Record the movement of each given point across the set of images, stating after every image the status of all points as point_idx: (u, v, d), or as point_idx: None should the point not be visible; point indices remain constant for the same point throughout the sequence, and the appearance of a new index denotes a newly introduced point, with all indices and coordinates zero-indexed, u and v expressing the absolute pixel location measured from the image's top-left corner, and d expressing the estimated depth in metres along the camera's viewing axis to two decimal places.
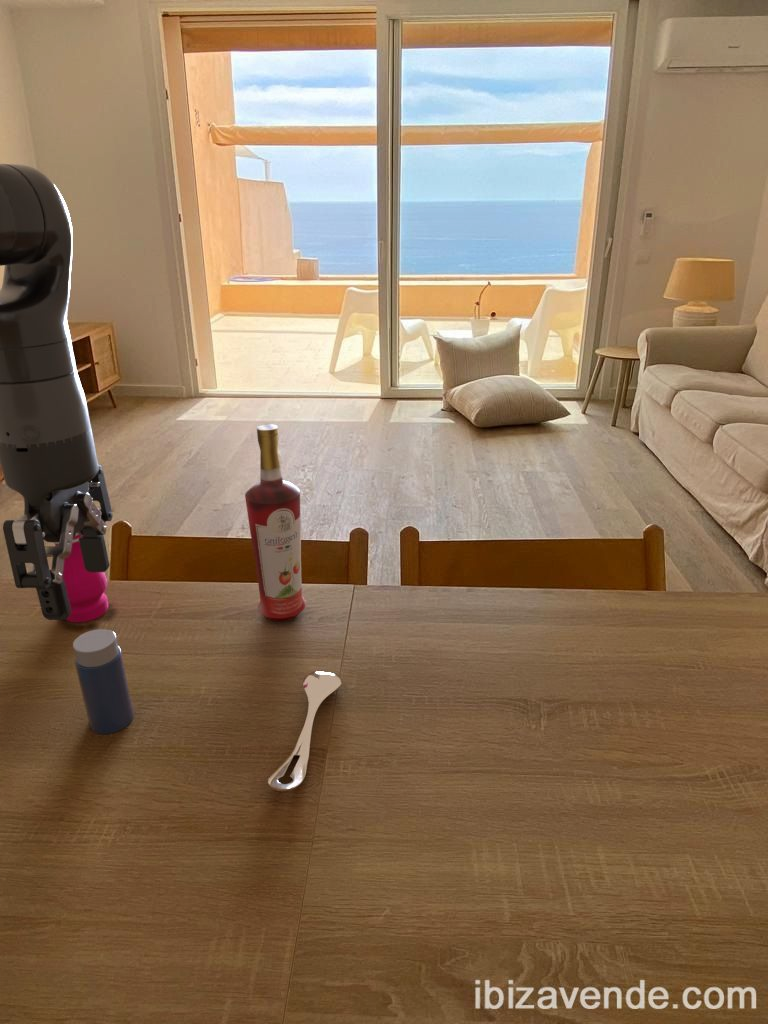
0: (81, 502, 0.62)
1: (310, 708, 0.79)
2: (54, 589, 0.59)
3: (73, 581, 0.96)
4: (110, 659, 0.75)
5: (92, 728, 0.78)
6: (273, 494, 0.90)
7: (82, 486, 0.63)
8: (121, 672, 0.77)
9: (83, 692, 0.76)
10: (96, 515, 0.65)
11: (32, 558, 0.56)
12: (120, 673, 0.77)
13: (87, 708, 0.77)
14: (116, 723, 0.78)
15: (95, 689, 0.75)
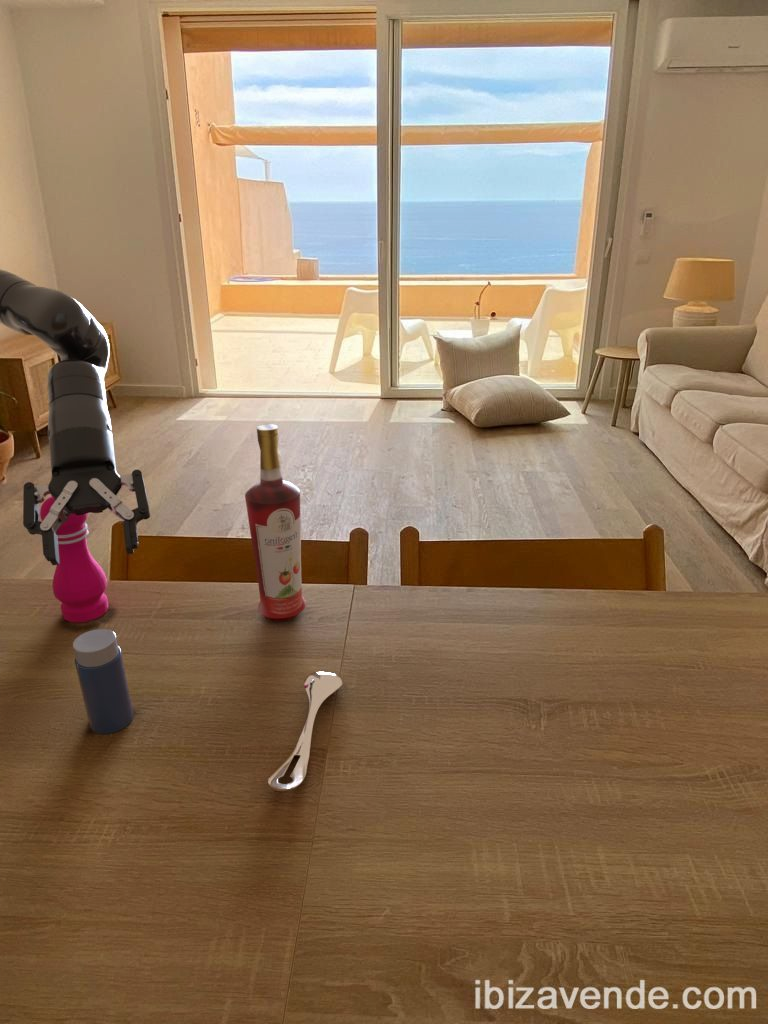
0: (89, 484, 0.85)
1: (310, 708, 0.79)
2: (44, 536, 0.83)
3: (73, 581, 0.96)
4: (110, 659, 0.75)
5: (92, 728, 0.78)
6: (273, 494, 0.90)
7: (105, 478, 0.87)
8: (121, 672, 0.77)
9: (83, 692, 0.76)
10: (109, 498, 0.85)
11: None
12: (120, 673, 0.77)
13: (87, 708, 0.77)
14: (116, 723, 0.78)
15: (95, 689, 0.75)
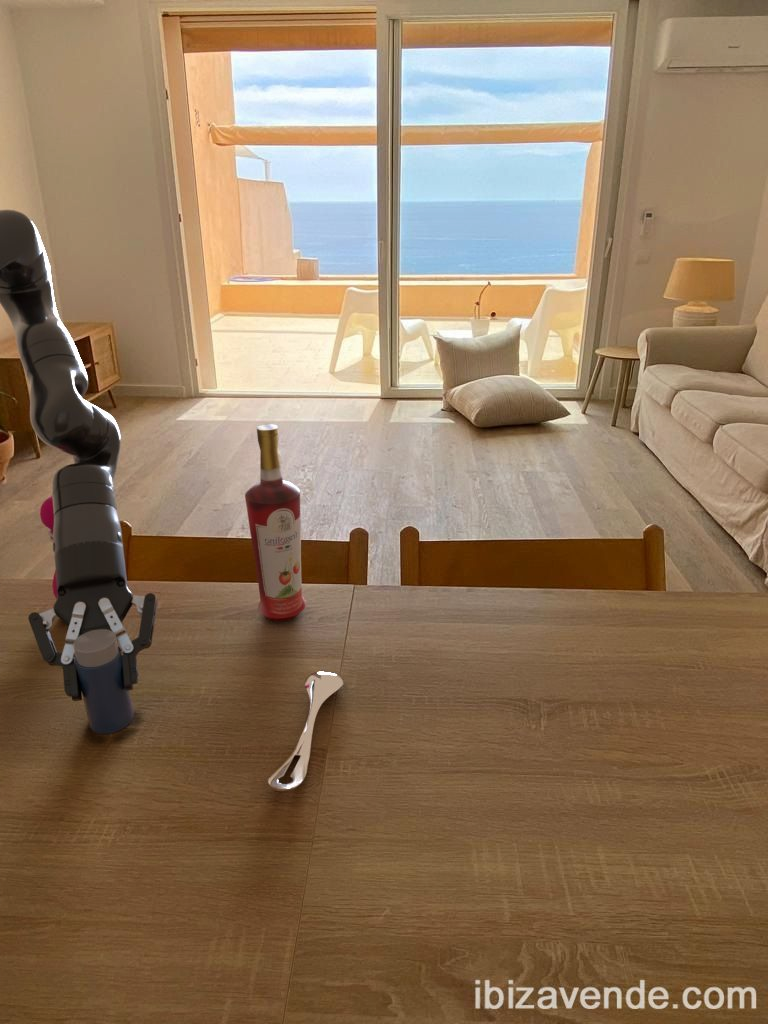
0: (99, 604, 0.78)
1: (311, 708, 0.79)
2: (65, 669, 0.76)
3: None
4: (110, 659, 0.75)
5: (92, 728, 0.78)
6: (273, 494, 0.90)
7: (115, 596, 0.80)
8: (121, 672, 0.77)
9: (83, 692, 0.76)
10: (113, 624, 0.78)
11: None
12: (120, 673, 0.77)
13: (87, 707, 0.77)
14: (116, 723, 0.78)
15: (95, 689, 0.75)
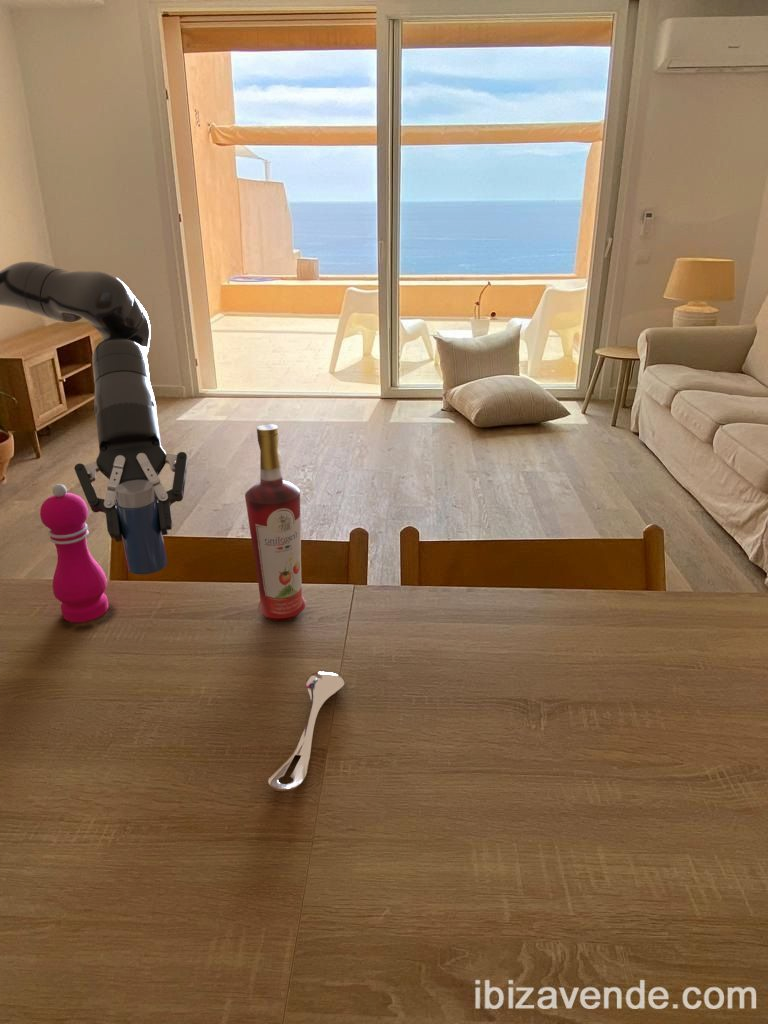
0: (136, 458, 0.87)
1: (312, 708, 0.79)
2: (108, 513, 0.85)
3: (73, 581, 0.96)
4: (148, 502, 0.84)
5: (131, 570, 0.87)
6: (273, 494, 0.90)
7: (151, 453, 0.88)
8: (157, 517, 0.86)
9: (123, 534, 0.85)
10: (150, 475, 0.87)
11: (82, 488, 0.85)
12: (156, 518, 0.86)
13: (126, 549, 0.86)
14: (153, 565, 0.87)
15: (135, 529, 0.84)
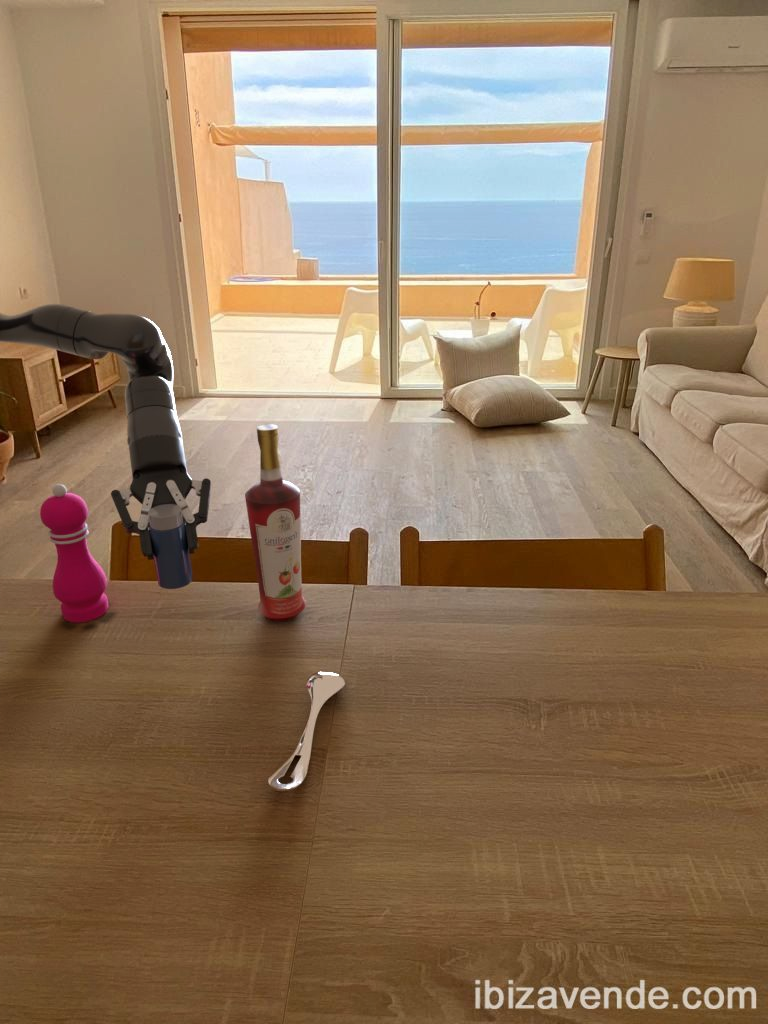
0: None
1: (312, 708, 0.79)
2: (141, 534, 0.95)
3: (73, 581, 0.96)
4: (177, 525, 0.94)
5: (161, 584, 0.97)
6: (273, 494, 0.90)
7: (179, 479, 0.98)
8: (185, 538, 0.96)
9: (155, 553, 0.95)
10: (178, 500, 0.97)
11: (118, 511, 0.95)
12: (184, 538, 0.96)
13: (157, 566, 0.96)
14: (181, 580, 0.97)
15: (166, 549, 0.94)
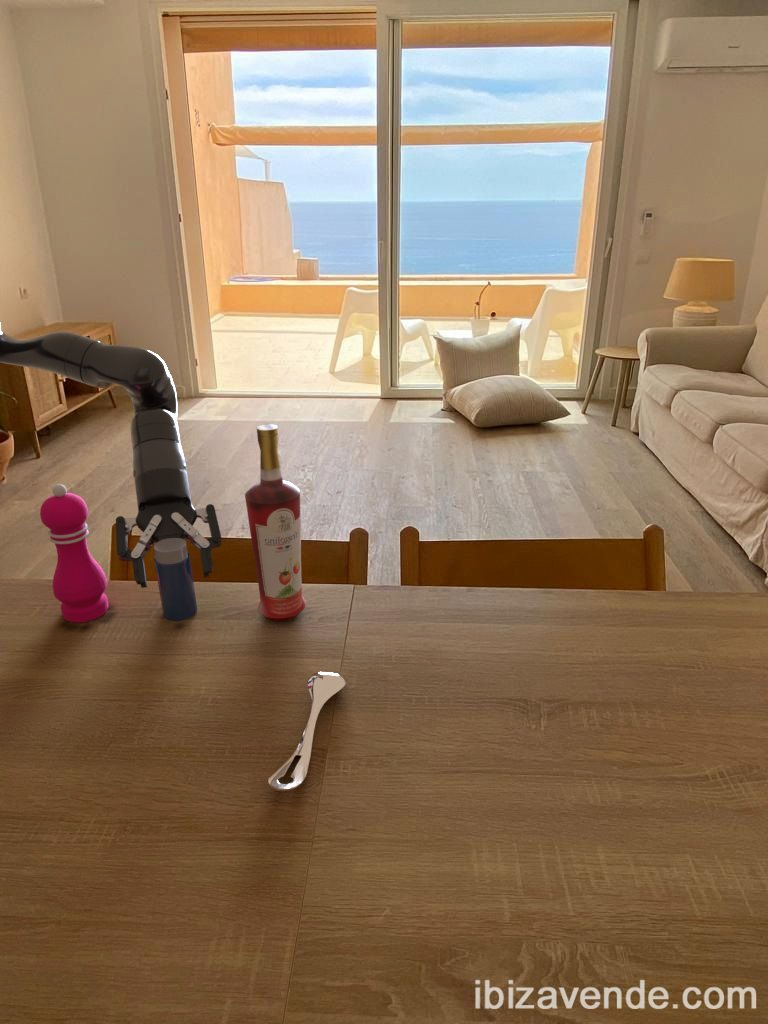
0: None
1: (313, 708, 0.79)
2: (134, 562, 0.97)
3: (73, 581, 0.96)
4: (182, 559, 0.96)
5: (166, 616, 0.99)
6: (273, 494, 0.90)
7: (183, 511, 1.00)
8: (190, 570, 0.98)
9: (160, 586, 0.97)
10: (188, 529, 0.99)
11: None
12: (189, 571, 0.98)
13: (163, 599, 0.98)
14: (185, 612, 0.99)
15: (171, 582, 0.96)
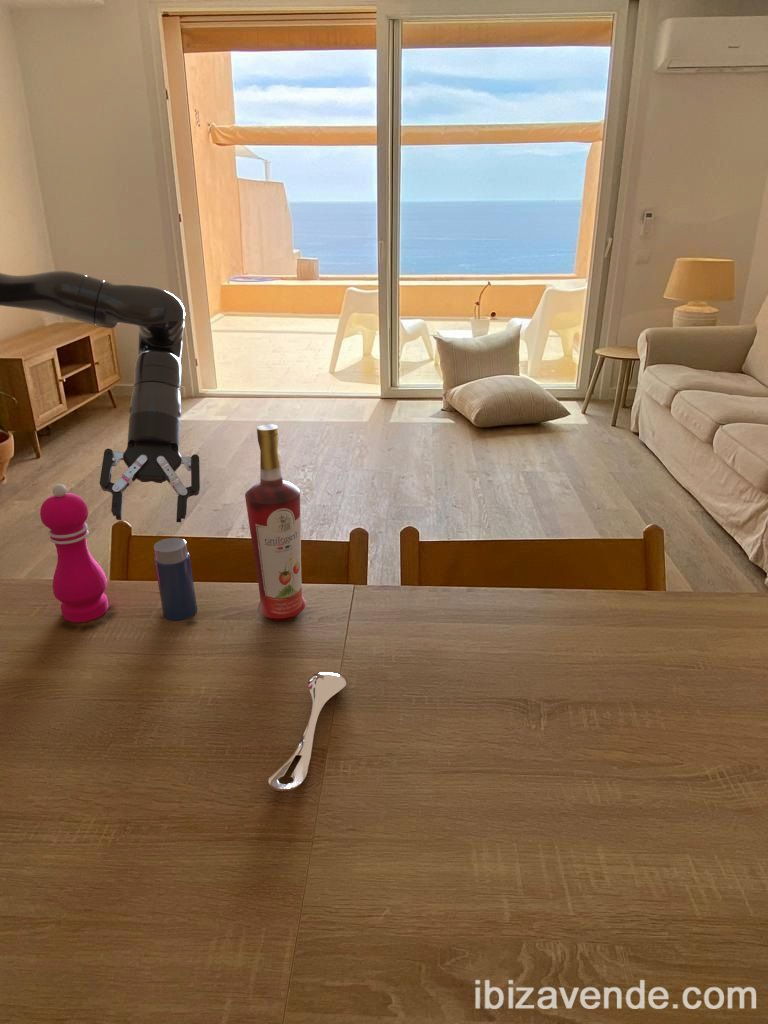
0: (157, 460, 1.04)
1: (313, 708, 0.79)
2: (114, 495, 1.02)
3: (73, 581, 0.96)
4: (182, 559, 0.96)
5: (166, 616, 0.99)
6: (273, 494, 0.90)
7: (169, 456, 1.06)
8: (190, 570, 0.98)
9: (160, 586, 0.97)
10: (170, 475, 1.04)
11: None
12: (189, 571, 0.98)
13: (163, 599, 0.98)
14: (185, 612, 0.99)
15: (171, 582, 0.96)
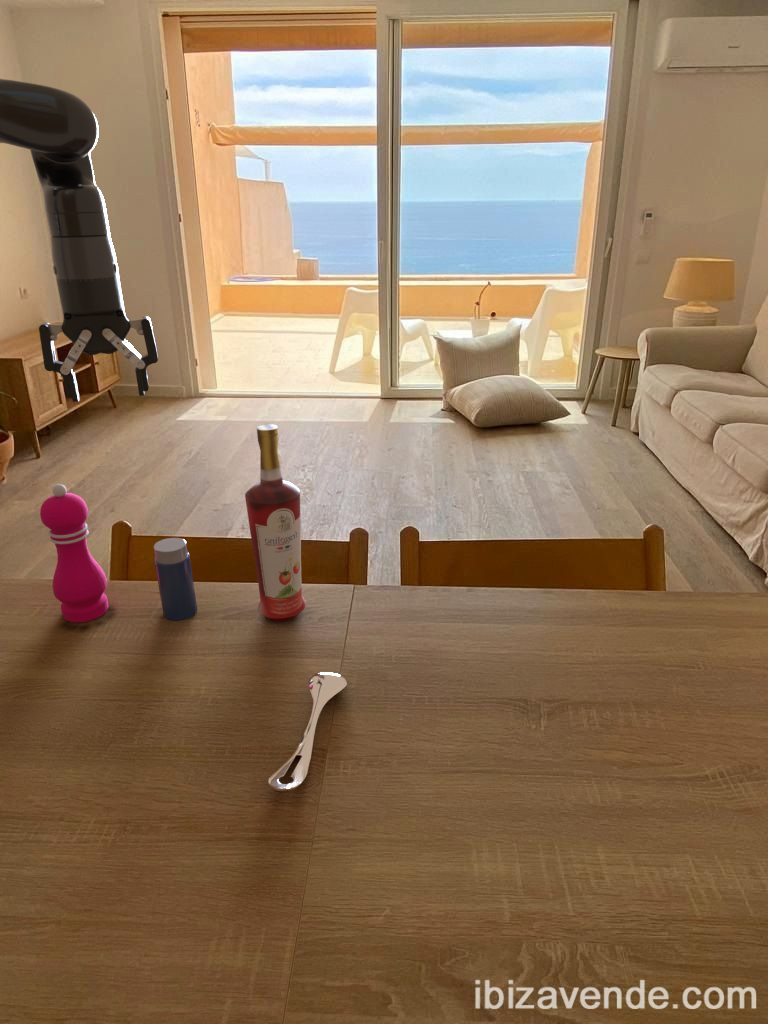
0: None
1: (314, 708, 0.79)
2: (65, 378, 0.92)
3: (73, 581, 0.96)
4: (182, 559, 0.96)
5: (166, 616, 0.99)
6: (273, 494, 0.90)
7: (116, 325, 0.91)
8: (190, 570, 0.98)
9: (160, 586, 0.97)
10: (122, 349, 0.92)
11: None
12: (189, 571, 0.98)
13: (163, 599, 0.98)
14: (185, 612, 0.99)
15: (171, 582, 0.96)
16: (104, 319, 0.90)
